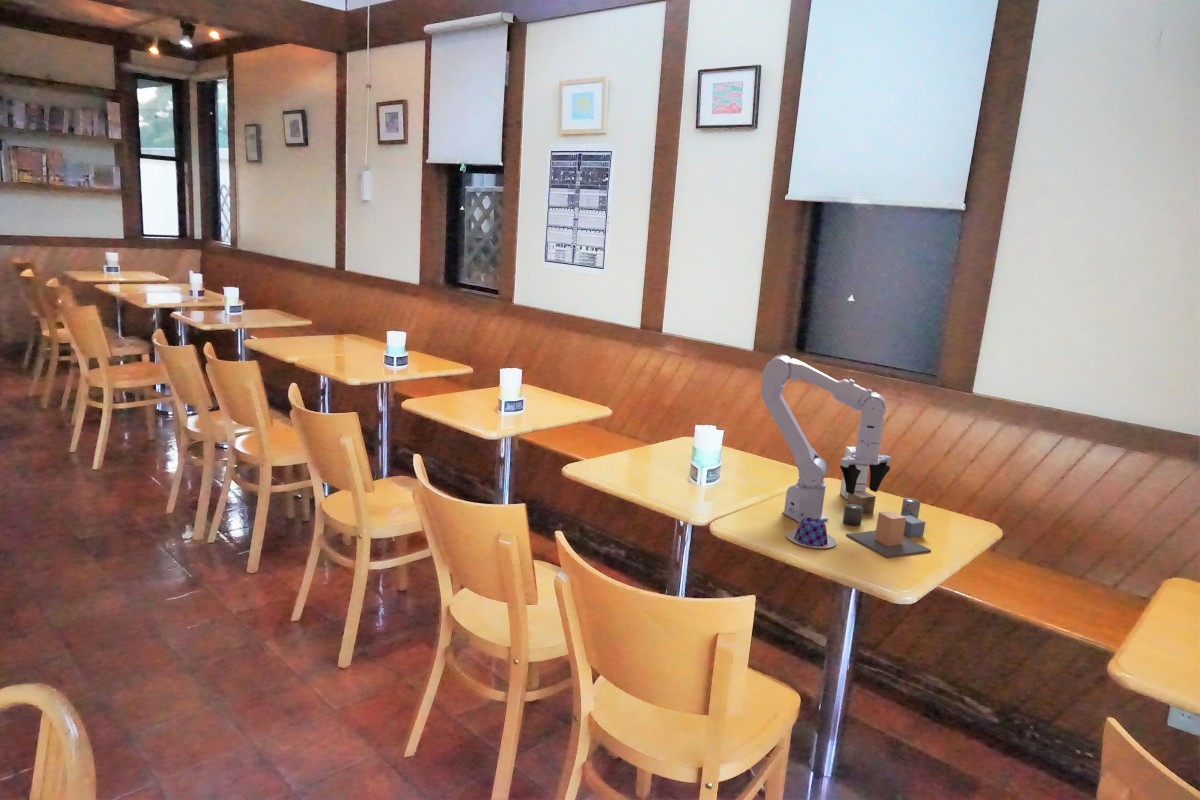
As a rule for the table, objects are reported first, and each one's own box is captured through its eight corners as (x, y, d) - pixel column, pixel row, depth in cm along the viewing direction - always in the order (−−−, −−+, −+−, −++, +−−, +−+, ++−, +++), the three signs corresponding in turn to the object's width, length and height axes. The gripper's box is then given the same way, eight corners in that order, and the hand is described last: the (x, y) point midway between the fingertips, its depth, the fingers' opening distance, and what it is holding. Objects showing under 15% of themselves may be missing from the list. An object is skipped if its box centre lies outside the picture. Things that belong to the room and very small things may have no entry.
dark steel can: (908, 523, 212) (912, 503, 211) (896, 517, 216) (899, 498, 215) (921, 522, 214) (924, 502, 212) (908, 516, 218) (911, 497, 216)
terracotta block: (887, 546, 193) (892, 519, 192) (874, 539, 197) (878, 512, 196) (901, 544, 195) (906, 517, 193) (888, 537, 199) (892, 511, 197)
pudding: (783, 529, 202) (786, 510, 200) (832, 535, 200) (834, 515, 199) (788, 547, 190) (790, 527, 189) (839, 553, 188) (842, 532, 187)
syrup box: (864, 501, 227) (872, 452, 224) (844, 499, 227) (851, 451, 224) (858, 494, 233) (865, 447, 230) (838, 493, 233) (845, 445, 230)
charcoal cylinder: (851, 527, 206) (853, 510, 205) (838, 520, 210) (841, 504, 209) (864, 525, 208) (867, 509, 207) (852, 519, 212) (854, 503, 211)
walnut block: (859, 515, 216) (861, 497, 215) (846, 508, 220) (848, 491, 219) (873, 513, 218) (875, 496, 217) (860, 507, 222) (862, 490, 221)
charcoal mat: (886, 558, 187) (887, 556, 187) (846, 535, 199) (846, 533, 199) (930, 551, 193) (931, 549, 193) (888, 530, 205) (888, 528, 205)
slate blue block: (909, 538, 201) (912, 523, 200) (895, 531, 206) (897, 516, 205) (922, 536, 203) (925, 522, 202) (908, 529, 207) (910, 515, 207)
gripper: (856, 446, 196) (849, 498, 199) (902, 443, 202) (894, 494, 204) (838, 438, 202) (831, 489, 205) (882, 436, 208) (875, 486, 211)
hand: (861, 491), depth 205 cm, fingers open, 7 cm apart
